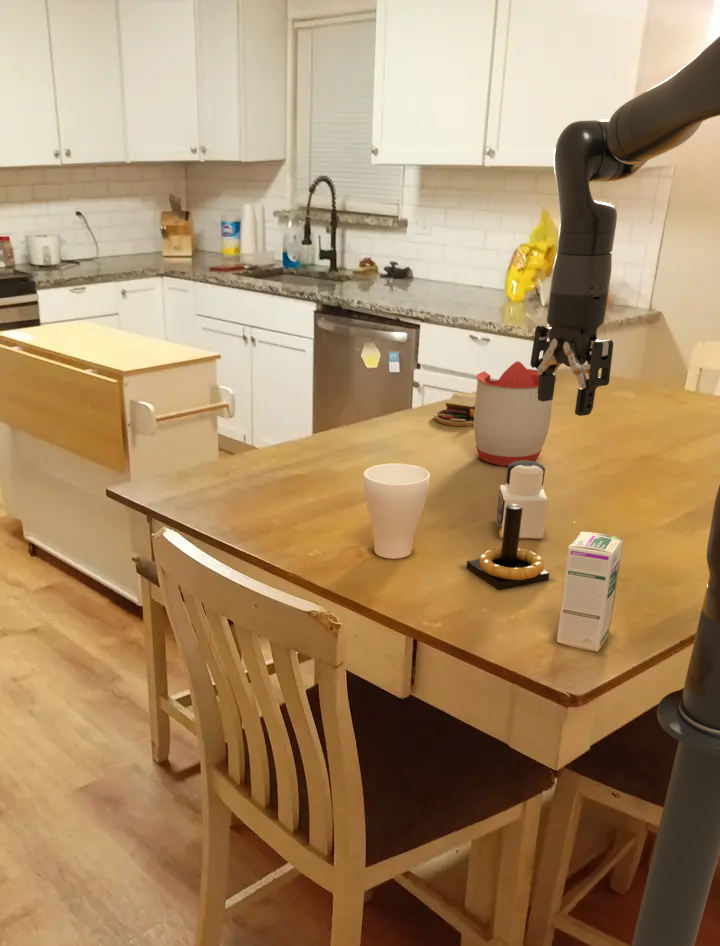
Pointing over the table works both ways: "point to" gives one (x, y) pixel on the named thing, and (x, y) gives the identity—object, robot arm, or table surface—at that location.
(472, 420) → the toy sandwich meal
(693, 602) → the table surface
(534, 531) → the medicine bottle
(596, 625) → the syrup box
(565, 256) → the robot arm
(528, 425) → the citrus juicer
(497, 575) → the ring
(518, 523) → the holder
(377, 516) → the cup
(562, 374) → the table surface
